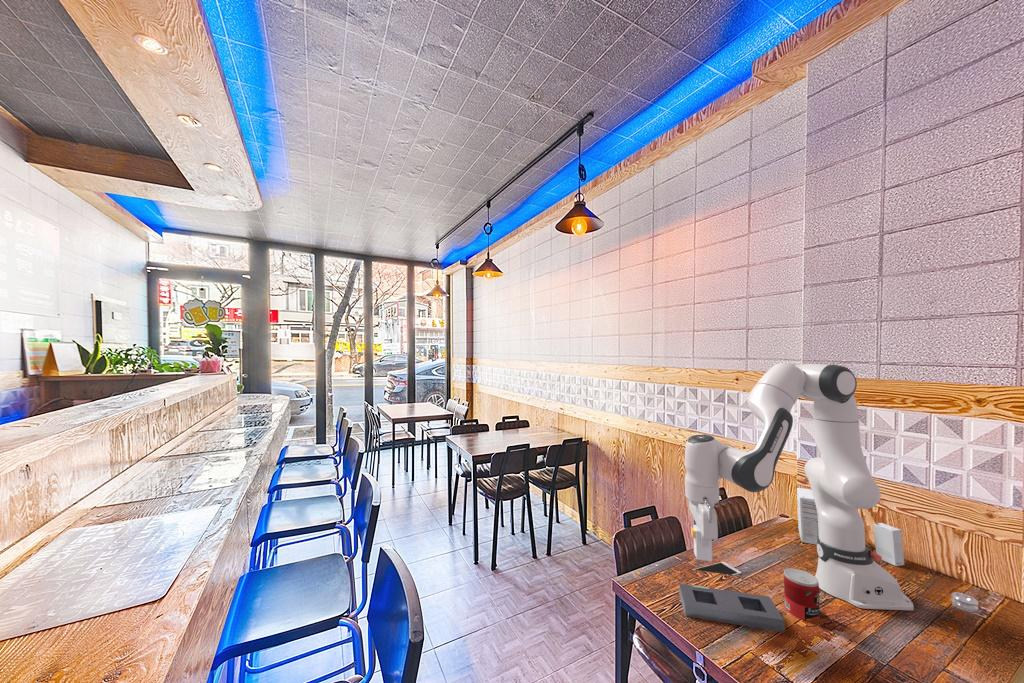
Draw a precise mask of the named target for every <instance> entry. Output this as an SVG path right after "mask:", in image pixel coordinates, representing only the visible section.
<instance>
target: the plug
mask: <svg viewBox="0 0 1024 683" xmlns="http://www.w3.org/2000/svg"><path fill="white" fill-rule="evenodd" d="M690 531H691V532H690V534H691V537H692V539H693V553H694V556H695V558H696V560H698V561H704V562H705V561H706V562H713V540H710V539H709V546H708V547H706V546H702V544H701V532H700V530H699V528H698V526H697V525H696V524H693V527H692V526H691V527H690Z"/></svg>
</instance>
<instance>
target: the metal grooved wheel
mask: <svg viewBox="0 0 1024 683" xmlns="http://www.w3.org/2000/svg"><path fill="white" fill-rule="evenodd" d="M950 595H951V604H952V605H953V606H955V607H956V608H957V609H960V610H962V611H964V612H965V611H966V612H969V613H974V614H975V613H979V612H980V608H979V607H978V606H979V601H978V600H977V599H976V598H974V597H972V596H971V595H968V594H965V593H962V592H959V591H958V592H955V591H954V592H952V593H951V594H950Z"/></svg>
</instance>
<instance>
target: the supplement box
mask: <svg viewBox="0 0 1024 683" xmlns="http://www.w3.org/2000/svg"><path fill="white" fill-rule="evenodd" d="M796 502H797V524H798V533H799V538H800V541H801V543H805V544H811V545H815V546H817V537H818V536H819V531H818V514H817V509H816V505H815V501H814V497H813V493H812V490H811V488H810V489H809V488H803V487H796Z"/></svg>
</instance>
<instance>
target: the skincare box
mask: <svg viewBox="0 0 1024 683" xmlns="http://www.w3.org/2000/svg"><path fill="white" fill-rule="evenodd" d="M873 531H874V532H873V533H874V534H873V535H874V544H875V552H876V553H877V554H879V555H880V556H881V558H882V560H881V561H883V562H886V563H888V564H891V565H893V566H894V567H900V566H904V565H905V556H904V547H903V546H904V545H903V544H904V543H903V533H902V529H900V528H897V527H894V526H891V525H889V524H886V523H884V522H878V523H874V524H873Z"/></svg>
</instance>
